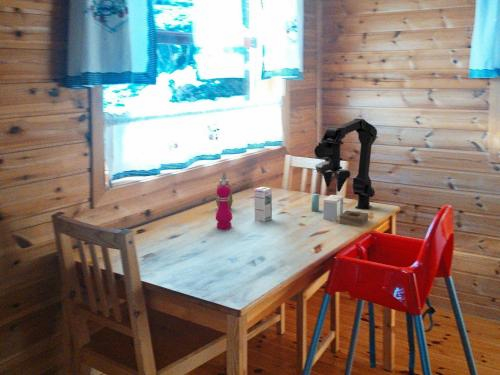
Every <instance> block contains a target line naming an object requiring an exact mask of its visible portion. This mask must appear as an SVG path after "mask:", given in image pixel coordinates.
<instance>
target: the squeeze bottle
mask: <svg viewBox="0 0 500 375" xmlns="http://www.w3.org/2000/svg"><path fill="white" fill-rule="evenodd" d="M226 174H227V173H226V172H225V171H223V172H222V174H221V179H218V180H219V181H218V184H217V187H216V189H217V188H218V187H219V186H221V183H222V182H225V183H226V186H228V187H229V188H230V190H231V193H230V195H229V197H230V198H229V199H230V200H229V202H228V204H229V208H230V210H231V208H232V205H233V203H234V200H233V192H232V191H233V190H232V185H231V184H230V180H229V179H228V178H227V175H226ZM215 203H216V205H217V208H219V200H218V195H217V194H216V197H215Z"/></svg>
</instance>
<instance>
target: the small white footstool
mask: <svg viewBox="0 0 500 375" xmlns="http://www.w3.org/2000/svg"><path fill="white" fill-rule="evenodd" d="M338 202H340V204H339V206H340V208H339V216H340V215H342V214H343V213H344V195H338V194H337V195H336V194H330V195H328V196H327V197H325V198H324V199H323V210H322V212H323V213H322V214H323V216H322V219H323V220H330V221H337V218H338V216H337V212H338Z"/></svg>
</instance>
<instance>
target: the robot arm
mask: <svg viewBox="0 0 500 375" xmlns="http://www.w3.org/2000/svg"><path fill="white" fill-rule="evenodd" d="M354 131H355V132H356V133H357V134H358V135H357V137H358V142H359V143H360V152H359V160H358V161H359V162H358V171H357V175H356V177H353V179H352V184H351V186H352V190H353V194H354V195H357V205H356V206H355V209H362V210H370V209H371V208H372V206H373V205H370V203H371V201H370V200H371V198H373V197H374V196H375V192H376V191H375V189H374V188H373V186H372V180H371V178H370V175H369V173H370V165H371V155H372V146H373V144H374V143H375V141H376V139H377V134H378V130H377V128H376V126H374V125H372V124H371V123H369V122H368V121H367V120H365V119H364V118H356V117H355V118H354V119H353V120H351V121H348V122H345V123H344V124H341V125H332V126H328V127H327V128H326V130H325V132H324V134H323V136H322V138H321V141H320V142H318V143H317V144H318V145H316V147H315V148H314V152H313V153H314V155H315V157H316V158H317V159H324V160H323V161H321V162H319V163H318V164H315V170H316V172H317V173H320V175H322V176H323V180H324V182H325V186H326V188H329V187H330V184H331V181H332V179H333V178H334V179H335V180H336V190H337V192H338V193H339V192H340V191H341V190H342V188H343V186H344V184H345V182H346V181H347V180H348V179H349V178H351V171H350V170H348V169H346V168H344V169H343V167H342V166H341V161H343V157H341V154H342V153H341V145H344V144H345V143H344V142H343V141H342V140H343V139H345V138H346V135H348V134H351V133H352V132H354ZM333 175H334V177H333ZM332 177H333V178H332Z"/></svg>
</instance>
